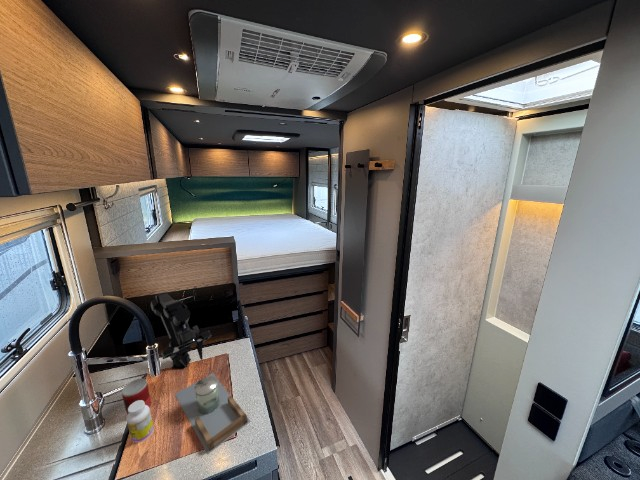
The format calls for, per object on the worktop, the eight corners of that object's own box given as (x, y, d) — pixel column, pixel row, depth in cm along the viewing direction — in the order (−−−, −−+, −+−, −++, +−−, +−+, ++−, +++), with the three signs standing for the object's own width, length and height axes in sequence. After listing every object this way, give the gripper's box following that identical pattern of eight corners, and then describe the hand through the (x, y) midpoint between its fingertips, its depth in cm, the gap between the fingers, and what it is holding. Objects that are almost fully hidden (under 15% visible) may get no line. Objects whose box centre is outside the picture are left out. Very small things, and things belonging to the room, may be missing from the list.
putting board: (174, 395, 105) (174, 394, 105) (212, 373, 116) (212, 373, 116) (207, 455, 83) (207, 454, 82) (250, 422, 94) (250, 421, 94)
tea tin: (193, 414, 96) (190, 393, 94) (203, 396, 104) (200, 376, 102) (215, 414, 96) (212, 393, 94) (223, 395, 104) (220, 376, 102)
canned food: (156, 401, 103) (151, 378, 100) (140, 419, 95) (135, 396, 92) (138, 399, 103) (133, 377, 100) (122, 417, 96) (115, 394, 93)
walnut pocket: (195, 425, 92) (194, 419, 91) (231, 401, 102) (230, 395, 101) (209, 451, 84) (208, 444, 83) (247, 422, 93) (247, 415, 92)
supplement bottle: (129, 434, 89) (122, 406, 86) (151, 421, 94) (144, 394, 91) (134, 448, 85) (126, 418, 82) (156, 433, 90) (150, 405, 86)
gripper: (158, 332, 97) (172, 371, 93) (207, 313, 110) (221, 347, 105) (156, 341, 104) (168, 377, 100) (202, 322, 117) (215, 353, 113)
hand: (194, 363), depth 104 cm, fingers open, 6 cm apart
